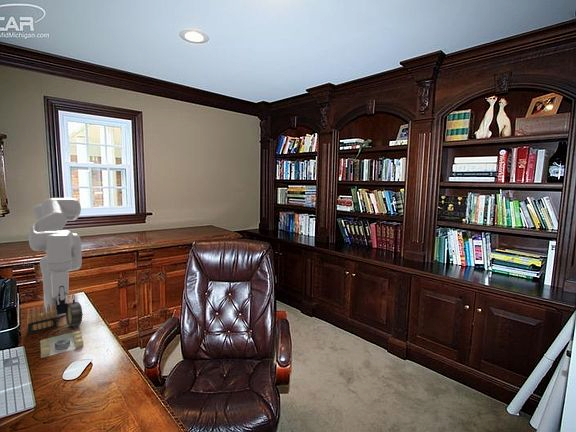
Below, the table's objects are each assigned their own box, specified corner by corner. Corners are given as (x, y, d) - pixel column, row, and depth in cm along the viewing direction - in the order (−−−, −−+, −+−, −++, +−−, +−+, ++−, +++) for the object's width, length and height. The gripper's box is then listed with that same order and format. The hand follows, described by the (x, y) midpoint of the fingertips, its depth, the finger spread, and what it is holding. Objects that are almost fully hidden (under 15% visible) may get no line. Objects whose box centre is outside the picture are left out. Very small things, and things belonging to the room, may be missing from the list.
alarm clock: (65, 324, 145) (63, 292, 144) (78, 321, 149) (77, 289, 148) (71, 332, 138) (69, 298, 136) (84, 328, 142) (83, 295, 140)
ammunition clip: (27, 334, 135) (26, 309, 134) (27, 333, 136) (25, 307, 135) (57, 327, 143) (56, 303, 141) (56, 325, 144) (55, 302, 143)
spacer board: (40, 341, 130) (40, 334, 130) (79, 331, 139) (79, 325, 139) (41, 359, 117) (40, 352, 116) (84, 347, 126) (83, 340, 125)
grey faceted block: (54, 346, 125) (54, 341, 125) (69, 343, 128) (69, 337, 128) (55, 351, 122) (54, 345, 121) (70, 347, 125) (70, 342, 125)
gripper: (46, 262, 119) (48, 306, 120) (48, 272, 106) (50, 321, 108) (69, 259, 123) (71, 302, 125) (74, 269, 111) (76, 316, 113)
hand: (61, 310), depth 117 cm, fingers open, 3 cm apart
